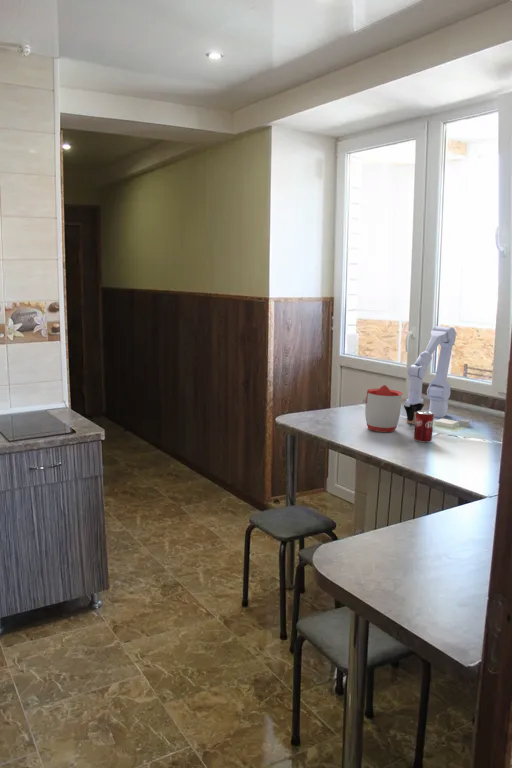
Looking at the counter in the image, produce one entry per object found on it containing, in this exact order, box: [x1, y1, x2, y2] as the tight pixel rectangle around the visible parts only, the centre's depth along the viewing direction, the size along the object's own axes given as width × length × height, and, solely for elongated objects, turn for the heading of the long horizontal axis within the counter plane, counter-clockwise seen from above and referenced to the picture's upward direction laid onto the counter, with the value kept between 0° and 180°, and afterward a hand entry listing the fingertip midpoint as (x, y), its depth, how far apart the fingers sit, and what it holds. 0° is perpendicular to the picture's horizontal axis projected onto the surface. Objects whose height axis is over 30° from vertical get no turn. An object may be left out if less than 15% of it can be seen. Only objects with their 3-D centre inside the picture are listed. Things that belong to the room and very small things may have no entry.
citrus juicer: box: [360, 384, 403, 433], centre depth 283 cm, size 16×17×20 cm
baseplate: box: [433, 419, 468, 433], centre depth 293 cm, size 16×16×1 cm
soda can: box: [413, 410, 435, 443], centre depth 268 cm, size 7×7×12 cm
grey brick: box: [459, 418, 471, 428], centre depth 294 cm, size 4×4×2 cm
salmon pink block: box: [406, 412, 416, 425], centre depth 300 cm, size 4×4×5 cm
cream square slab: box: [433, 417, 460, 428], centre depth 293 cm, size 8×8×2 cm
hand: (412, 419), depth 300 cm, fingers open, 5 cm apart
